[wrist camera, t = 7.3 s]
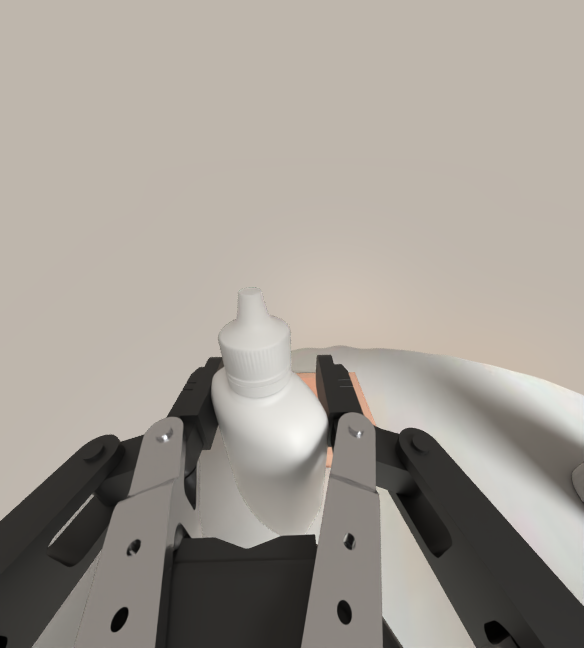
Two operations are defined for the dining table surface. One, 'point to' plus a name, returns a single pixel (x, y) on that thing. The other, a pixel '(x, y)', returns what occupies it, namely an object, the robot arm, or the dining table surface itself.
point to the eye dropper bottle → (269, 420)
